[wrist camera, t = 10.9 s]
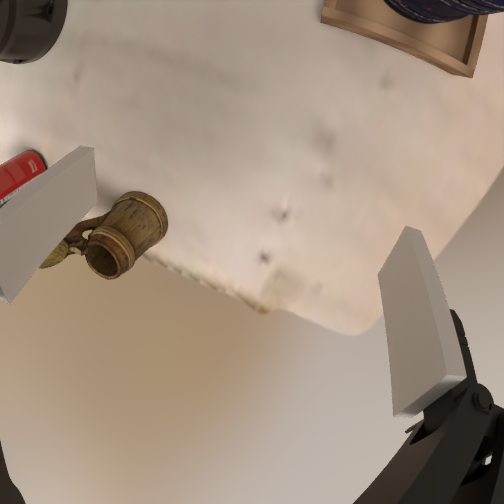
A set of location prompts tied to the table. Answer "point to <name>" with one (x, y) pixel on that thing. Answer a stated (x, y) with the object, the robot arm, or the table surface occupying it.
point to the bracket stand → (412, 33)
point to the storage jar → (443, 9)
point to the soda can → (19, 174)
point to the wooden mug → (115, 236)
